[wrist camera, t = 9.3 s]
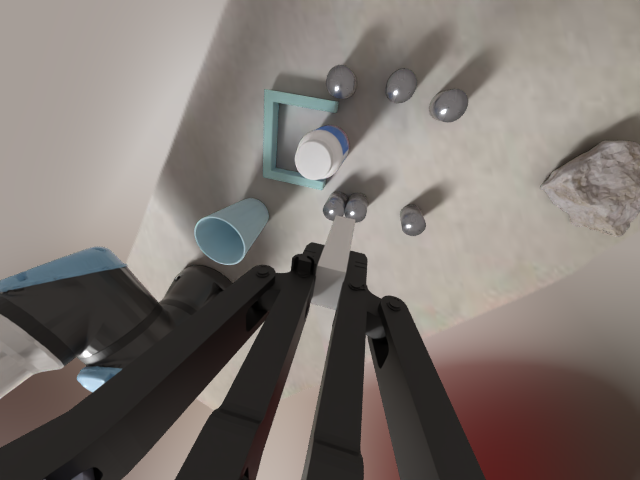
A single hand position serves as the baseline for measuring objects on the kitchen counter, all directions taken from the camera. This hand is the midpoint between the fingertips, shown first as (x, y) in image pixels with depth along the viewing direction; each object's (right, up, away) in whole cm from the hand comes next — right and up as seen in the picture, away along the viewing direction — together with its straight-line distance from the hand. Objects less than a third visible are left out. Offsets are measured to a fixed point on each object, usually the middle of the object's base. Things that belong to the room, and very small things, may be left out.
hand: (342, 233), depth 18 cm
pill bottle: (0, +13, +15) cm, 20 cm away
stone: (+30, +6, +11) cm, 32 cm away
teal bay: (-4, +13, +15) cm, 21 cm away
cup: (-13, +4, +23) cm, 27 cm away
